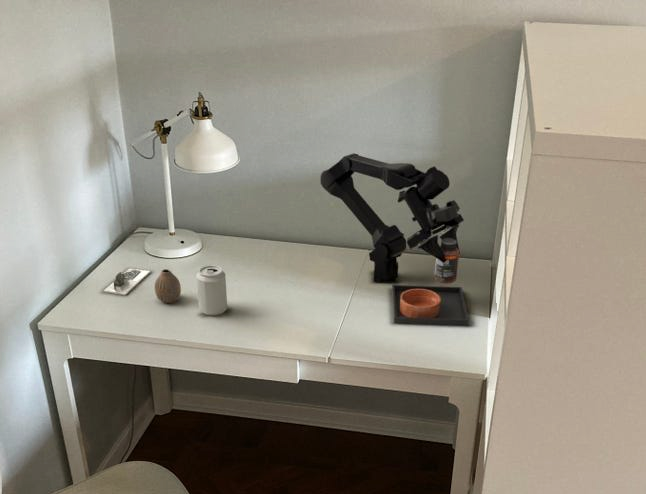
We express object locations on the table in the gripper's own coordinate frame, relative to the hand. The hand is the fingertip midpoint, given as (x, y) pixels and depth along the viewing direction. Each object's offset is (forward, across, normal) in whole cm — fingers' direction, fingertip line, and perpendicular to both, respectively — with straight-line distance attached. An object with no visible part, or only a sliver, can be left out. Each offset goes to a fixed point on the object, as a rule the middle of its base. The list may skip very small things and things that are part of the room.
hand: (451, 258), depth 210 cm
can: (-20, -47, +40) cm, 65 cm away
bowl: (+8, -9, +11) cm, 16 cm away
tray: (+8, -6, +11) cm, 15 cm away
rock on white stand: (-42, -53, +62) cm, 91 cm away
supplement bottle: (+4, 0, +6) cm, 7 cm away
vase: (-30, -52, +49) cm, 77 cm away
